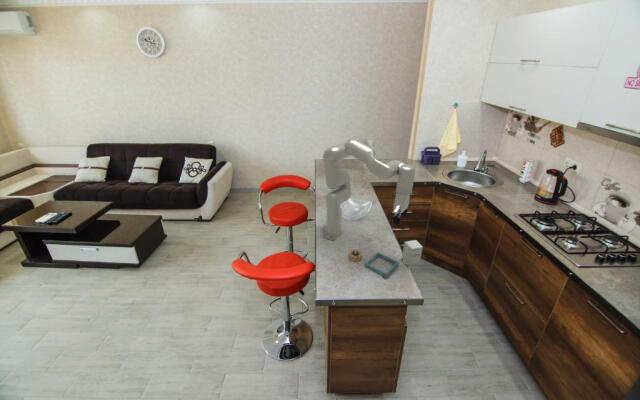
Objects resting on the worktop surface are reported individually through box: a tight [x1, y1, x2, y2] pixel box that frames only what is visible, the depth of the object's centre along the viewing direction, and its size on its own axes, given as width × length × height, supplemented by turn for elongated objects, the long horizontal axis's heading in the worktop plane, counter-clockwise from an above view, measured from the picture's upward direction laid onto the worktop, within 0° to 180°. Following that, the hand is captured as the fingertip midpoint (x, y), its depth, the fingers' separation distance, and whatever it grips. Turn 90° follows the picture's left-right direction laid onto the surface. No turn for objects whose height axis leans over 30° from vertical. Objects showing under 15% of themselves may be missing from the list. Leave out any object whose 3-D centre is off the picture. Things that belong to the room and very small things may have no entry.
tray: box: [364, 251, 400, 280], centre depth 169 cm, size 14×14×3 cm
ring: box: [348, 249, 363, 263], centre depth 175 cm, size 7×7×3 cm
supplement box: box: [401, 239, 424, 268], centre depth 171 cm, size 7×7×13 cm
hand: (399, 219), depth 158 cm, fingers open, 9 cm apart
